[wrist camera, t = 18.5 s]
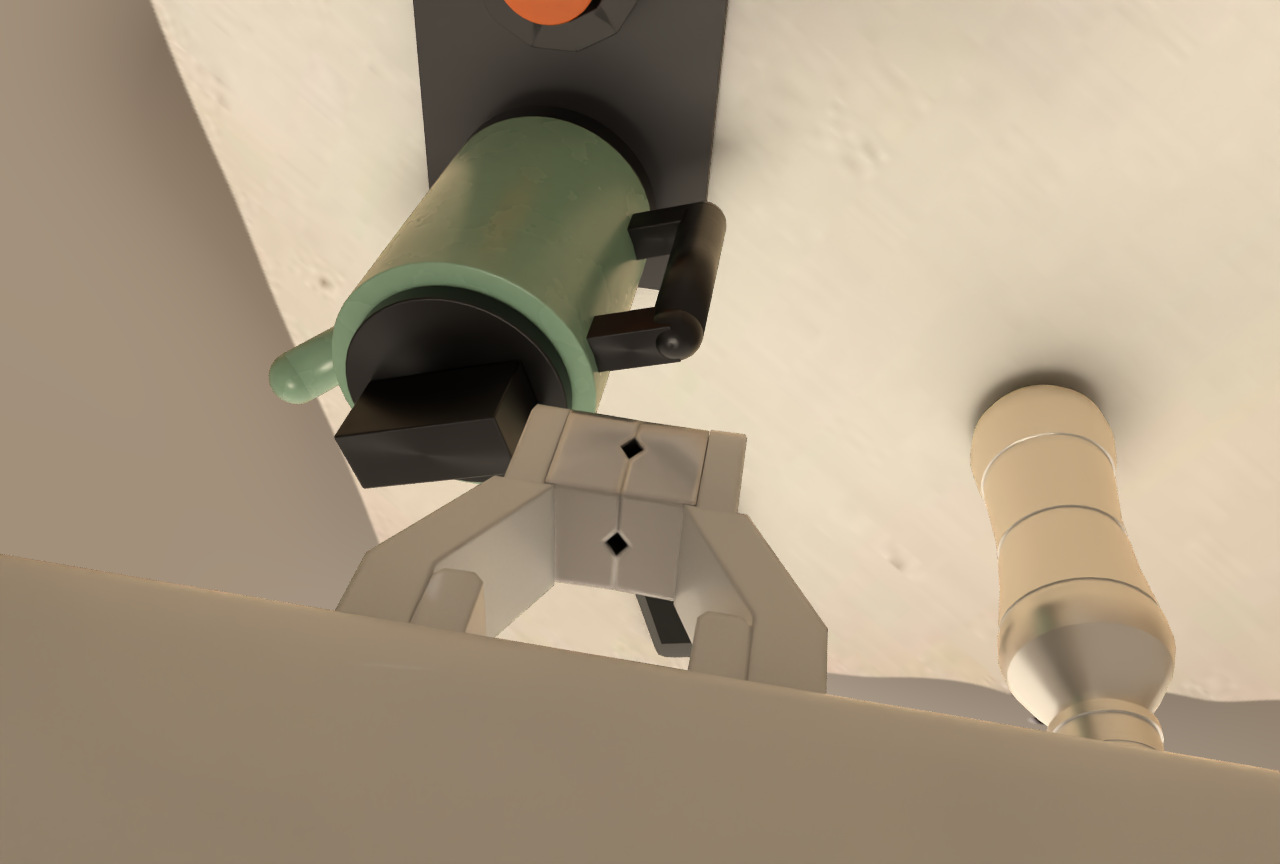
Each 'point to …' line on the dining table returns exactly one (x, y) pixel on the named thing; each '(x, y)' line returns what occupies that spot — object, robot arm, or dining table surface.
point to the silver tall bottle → (1069, 571)
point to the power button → (548, 10)
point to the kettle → (507, 301)
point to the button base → (581, 81)
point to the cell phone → (665, 627)
